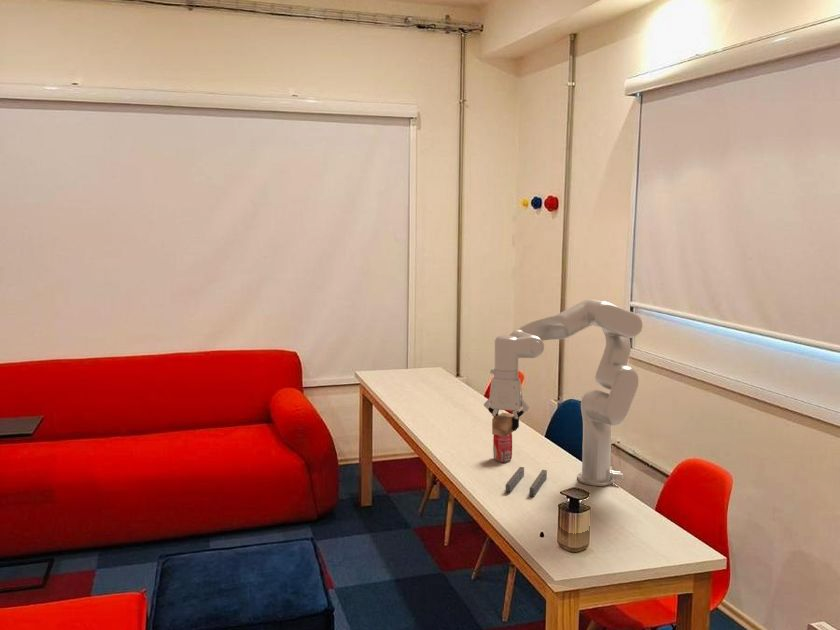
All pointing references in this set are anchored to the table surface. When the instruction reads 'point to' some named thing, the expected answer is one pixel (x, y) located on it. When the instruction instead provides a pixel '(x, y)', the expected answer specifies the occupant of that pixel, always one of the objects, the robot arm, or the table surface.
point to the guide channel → (518, 476)
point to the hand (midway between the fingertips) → (506, 428)
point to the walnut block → (503, 424)
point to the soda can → (502, 447)
